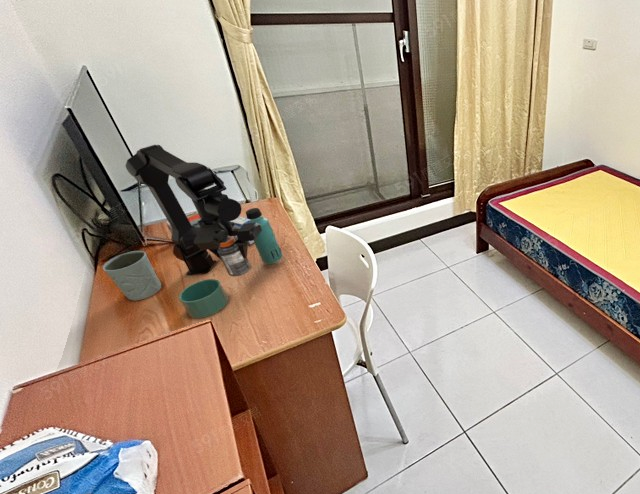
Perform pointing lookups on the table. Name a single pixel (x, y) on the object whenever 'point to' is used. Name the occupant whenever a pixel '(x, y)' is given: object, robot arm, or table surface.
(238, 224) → the medicine box
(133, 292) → the grey green planter pot
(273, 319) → the table surface
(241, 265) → the pill bottle
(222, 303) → the green bowl
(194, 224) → the medicine box
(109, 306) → the table surface
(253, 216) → the beverage bottle
